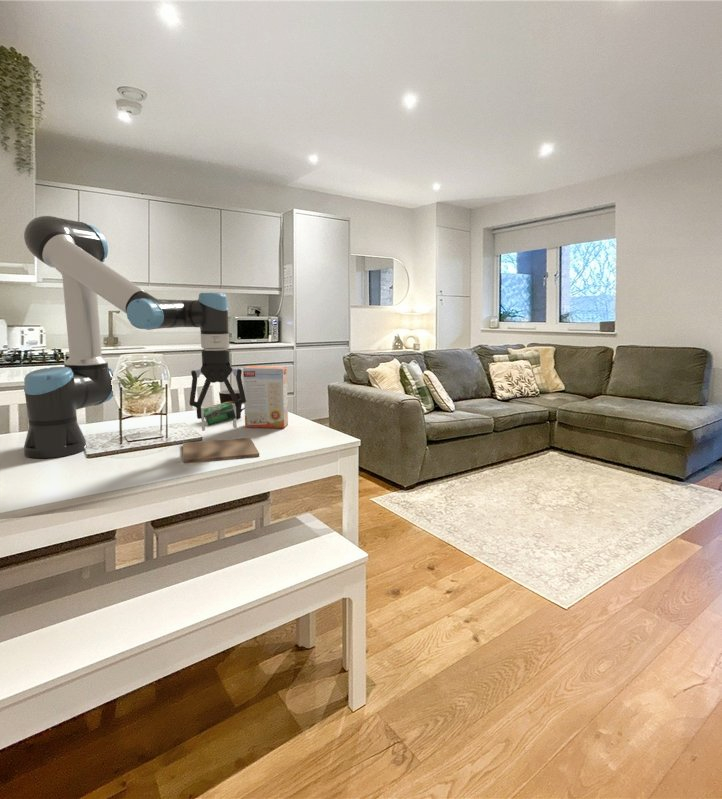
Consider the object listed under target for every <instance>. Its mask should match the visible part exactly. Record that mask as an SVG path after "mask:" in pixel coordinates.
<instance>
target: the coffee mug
mask: <svg viewBox="0 0 722 799" xmlns="http://www.w3.org/2000/svg"><path fill="white" fill-rule="evenodd" d="M233 391H234V393H235V395H236V397H237V399H240V394H239V390H238V389H233ZM218 394H219V396H218V397H219V400H220V402H219V404H221V403H225V402H229V403H230V405H231V406H232V404H235V403H234V401H233V399H232V397H231V395H230V393H229V391H228V389H226V390H225V389H224V390H220V391H218ZM242 406H243V403H242V404H240V416H236V420H239V419H241V418H242V416H241V415H242V411H245V408H244V407H242ZM231 421H233V419H232V420H231Z"/></svg>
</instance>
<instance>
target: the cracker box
mask: <svg viewBox="0 0 722 799" xmlns="http://www.w3.org/2000/svg"><path fill="white" fill-rule="evenodd" d="M287 370H288V368H287V366H255V365H254V366H245V367H243V368H242V372H243V389H244V394H245V398H246V402H245V403H243V405H244V407H243V408H245V409H244V426H245V427H244V428H263V429H264V428H265V429H266V428H268V429H285V428H286V427H287V426H288V425H289V411H288V410H289V409H288V407H289V404H288V403H289V402H288V371H287Z"/></svg>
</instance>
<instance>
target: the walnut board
mask: <svg viewBox="0 0 722 799" xmlns="http://www.w3.org/2000/svg"><path fill="white" fill-rule="evenodd" d="M182 452H183V453H182V455H183V457H182V458H183V464H190V463H200V462H211V461H212V460H213V461H221V460H223V459H224V460H234V458H235V459H243V458H244V457H246V458H254V457H253V456H257V457H260V452H259V451H258V449H257V447H256V445H255V443H254V441H253V440H252V438H251V437H245V438H244V437H243V438H228V439H219V440H217V439H216V440H205V441H204V440H203V441H202V440H201V441H191V442H182Z"/></svg>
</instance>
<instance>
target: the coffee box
mask: <svg viewBox="0 0 722 799" xmlns="http://www.w3.org/2000/svg"><path fill="white" fill-rule="evenodd" d="M204 419H205V421H206V422H205V423H206V424H207V427H212V426H214V425H217V424H221V423H225V422H228V421H233V420H232V419H236V416H235V412H234V409H233V408H232V406H231V405H230V403H229V402H225V403H218V404H215V405H214V404H213V405H210V406H206V407H204ZM236 420H237V419H236Z"/></svg>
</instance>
